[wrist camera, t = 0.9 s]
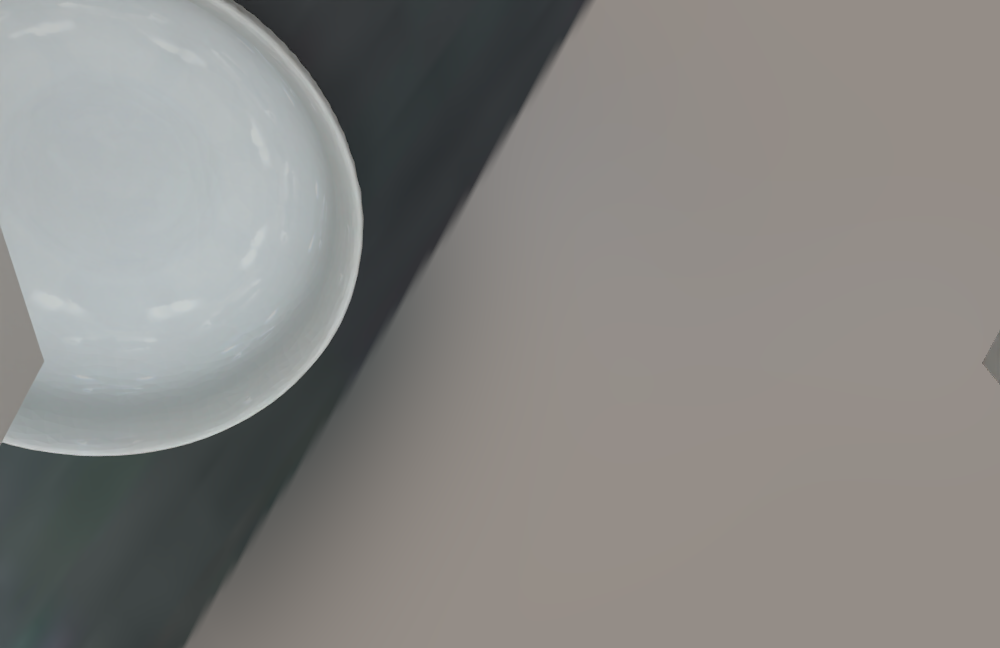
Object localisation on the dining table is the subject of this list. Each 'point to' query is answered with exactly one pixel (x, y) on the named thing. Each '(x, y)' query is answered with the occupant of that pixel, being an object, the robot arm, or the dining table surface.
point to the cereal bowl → (167, 218)
